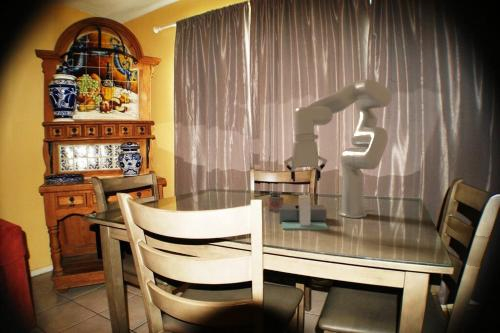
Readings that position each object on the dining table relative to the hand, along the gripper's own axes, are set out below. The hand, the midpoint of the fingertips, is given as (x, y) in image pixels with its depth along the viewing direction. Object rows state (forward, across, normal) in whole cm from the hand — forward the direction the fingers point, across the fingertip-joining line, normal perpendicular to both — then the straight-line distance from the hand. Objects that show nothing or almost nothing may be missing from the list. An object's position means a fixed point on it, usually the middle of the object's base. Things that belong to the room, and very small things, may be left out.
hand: (305, 180), depth 116 cm
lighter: (+20, +12, -24) cm, 33 cm away
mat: (+19, +1, +1) cm, 19 cm away
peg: (+18, +1, +1) cm, 18 cm away
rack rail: (+19, +1, -9) cm, 21 cm away
